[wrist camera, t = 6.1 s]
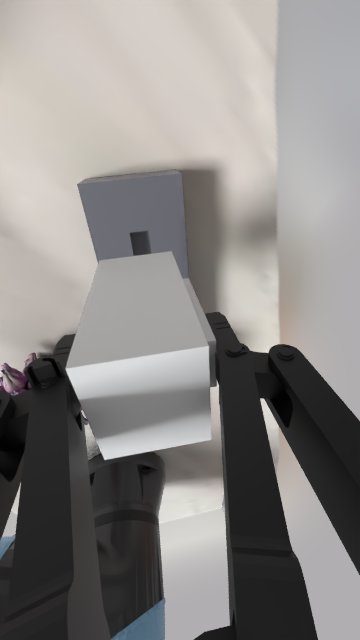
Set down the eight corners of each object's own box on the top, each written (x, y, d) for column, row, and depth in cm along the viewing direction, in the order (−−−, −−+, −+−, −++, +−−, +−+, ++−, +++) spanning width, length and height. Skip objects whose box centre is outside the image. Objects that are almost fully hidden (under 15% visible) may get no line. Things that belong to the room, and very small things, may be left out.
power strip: (194, 410, 43) (200, 437, 39) (144, 419, 42) (145, 447, 38) (175, 169, 24) (183, 174, 20) (85, 179, 23) (75, 185, 19)
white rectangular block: (176, 310, 21) (211, 439, 11) (117, 318, 21) (104, 460, 11) (169, 245, 18) (208, 345, 9) (101, 253, 18) (65, 368, 8)
